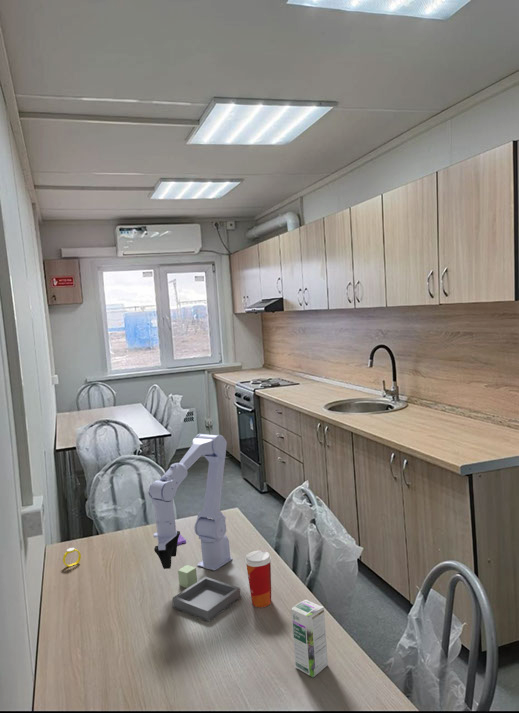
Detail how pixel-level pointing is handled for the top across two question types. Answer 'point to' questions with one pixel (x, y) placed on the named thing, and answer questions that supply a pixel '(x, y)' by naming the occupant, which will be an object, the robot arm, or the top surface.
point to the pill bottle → (259, 577)
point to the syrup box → (309, 637)
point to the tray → (206, 598)
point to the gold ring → (71, 552)
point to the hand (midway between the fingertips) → (169, 562)
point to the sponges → (181, 540)
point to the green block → (187, 576)
